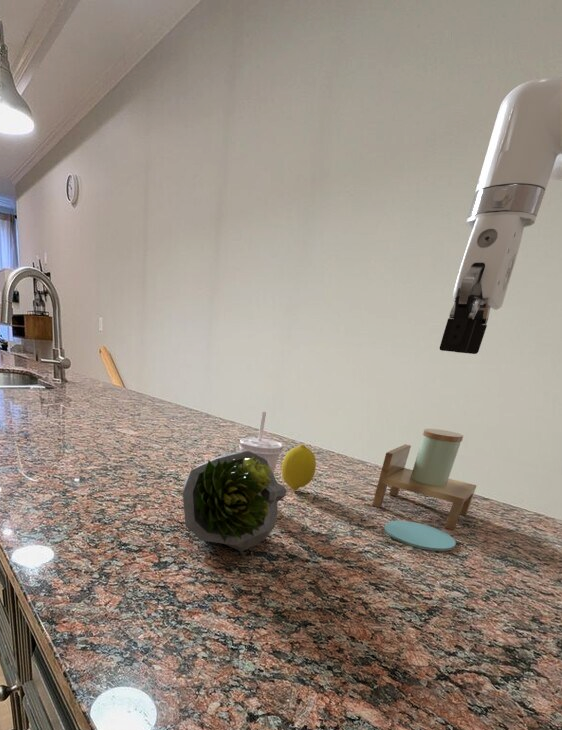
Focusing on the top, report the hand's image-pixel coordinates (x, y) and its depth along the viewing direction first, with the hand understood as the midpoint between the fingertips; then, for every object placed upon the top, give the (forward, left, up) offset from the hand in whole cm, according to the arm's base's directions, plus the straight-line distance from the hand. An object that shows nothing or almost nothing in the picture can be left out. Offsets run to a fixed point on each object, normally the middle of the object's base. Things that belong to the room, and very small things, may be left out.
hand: (459, 352), depth 63 cm
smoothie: (+18, +20, -25) cm, 36 cm away
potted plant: (+12, +34, -25) cm, 43 cm away
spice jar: (-1, -1, -19) cm, 19 cm away
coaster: (-4, +11, -24) cm, 27 cm away
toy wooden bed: (-1, -1, -24) cm, 24 cm away
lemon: (+17, +8, -25) cm, 31 cm away
